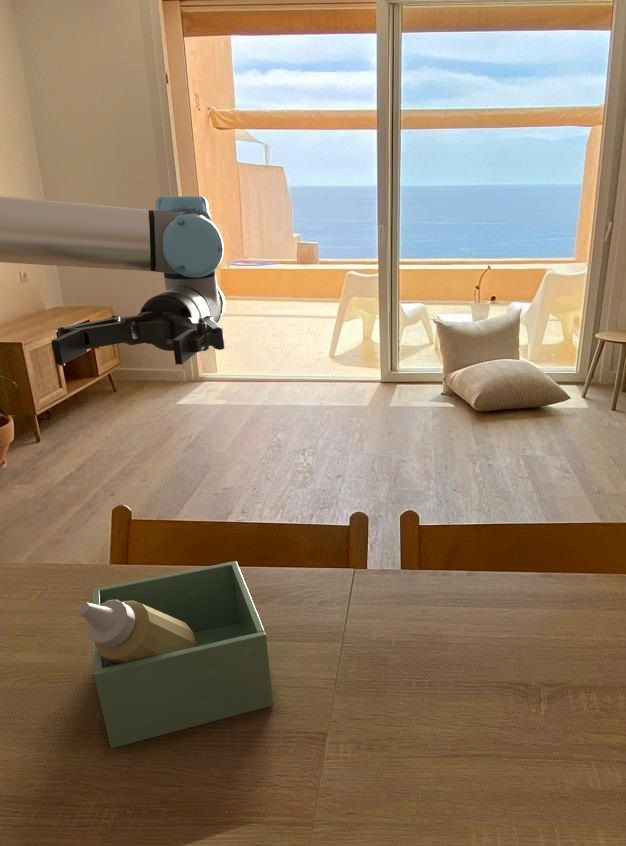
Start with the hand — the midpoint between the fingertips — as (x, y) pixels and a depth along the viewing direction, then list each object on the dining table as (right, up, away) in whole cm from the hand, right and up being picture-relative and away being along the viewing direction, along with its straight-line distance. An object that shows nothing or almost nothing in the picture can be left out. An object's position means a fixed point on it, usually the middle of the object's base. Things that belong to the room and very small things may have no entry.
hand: (116, 352), depth 77 cm
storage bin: (+6, -38, +7) cm, 39 cm away
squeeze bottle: (+6, -36, +5) cm, 37 cm away
